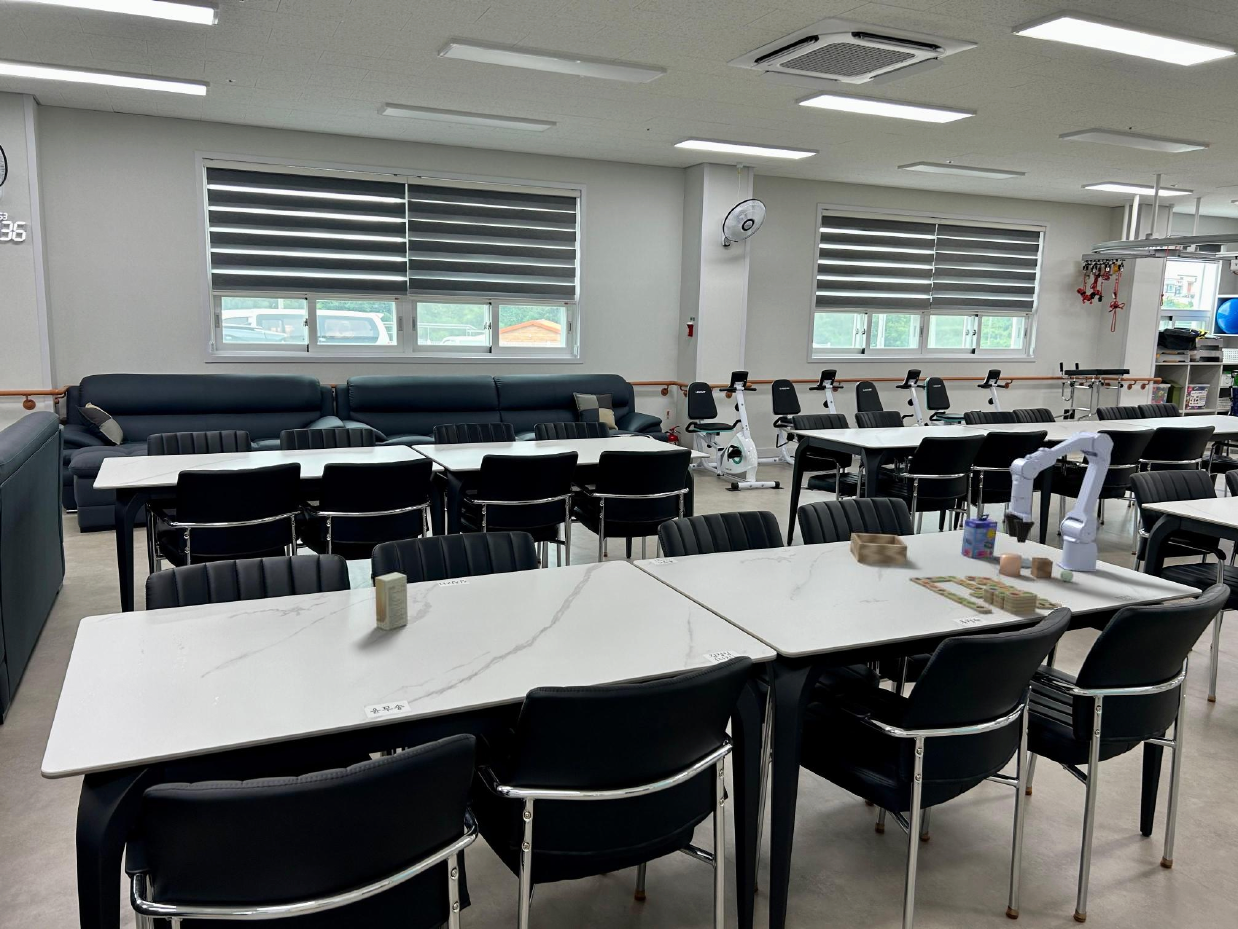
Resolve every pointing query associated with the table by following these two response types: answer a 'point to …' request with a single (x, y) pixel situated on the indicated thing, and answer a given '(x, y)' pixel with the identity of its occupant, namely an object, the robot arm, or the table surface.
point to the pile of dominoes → (988, 594)
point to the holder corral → (878, 548)
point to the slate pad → (1024, 564)
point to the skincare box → (391, 601)
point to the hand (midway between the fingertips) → (1017, 539)
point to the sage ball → (1066, 575)
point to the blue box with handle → (979, 537)
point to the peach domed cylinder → (1010, 564)
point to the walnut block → (1041, 568)
